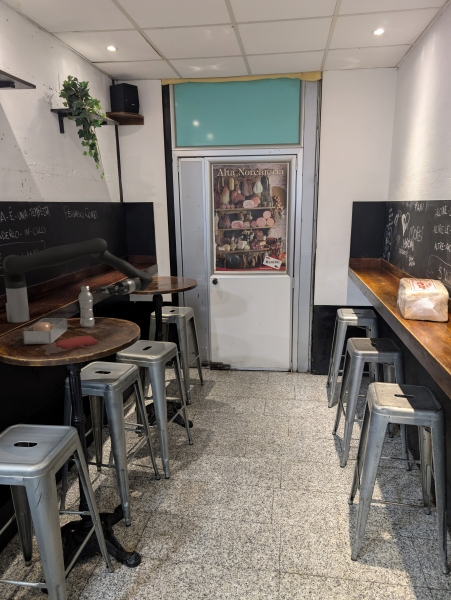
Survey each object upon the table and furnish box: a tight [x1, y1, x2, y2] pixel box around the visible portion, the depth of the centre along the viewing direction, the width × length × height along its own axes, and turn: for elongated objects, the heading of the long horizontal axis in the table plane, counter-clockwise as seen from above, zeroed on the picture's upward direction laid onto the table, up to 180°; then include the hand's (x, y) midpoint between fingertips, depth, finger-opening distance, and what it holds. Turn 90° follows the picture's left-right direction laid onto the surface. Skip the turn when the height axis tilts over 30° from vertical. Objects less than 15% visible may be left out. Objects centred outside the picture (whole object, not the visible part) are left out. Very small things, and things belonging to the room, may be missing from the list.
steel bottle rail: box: [22, 317, 69, 345], centre depth 186 cm, size 11×22×6 cm, turn 2°
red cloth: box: [54, 335, 99, 350], centre depth 178 cm, size 18×14×2 cm
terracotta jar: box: [32, 322, 50, 331], centre depth 181 cm, size 7×7×7 cm
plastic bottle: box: [77, 285, 95, 328], centre depth 201 cm, size 6×7×20 cm
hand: (103, 292), depth 210 cm, fingers open, 8 cm apart
